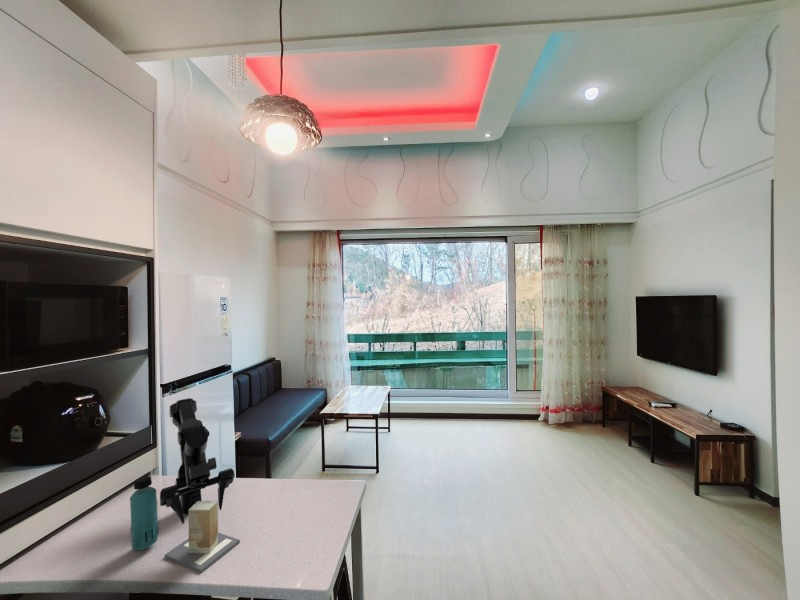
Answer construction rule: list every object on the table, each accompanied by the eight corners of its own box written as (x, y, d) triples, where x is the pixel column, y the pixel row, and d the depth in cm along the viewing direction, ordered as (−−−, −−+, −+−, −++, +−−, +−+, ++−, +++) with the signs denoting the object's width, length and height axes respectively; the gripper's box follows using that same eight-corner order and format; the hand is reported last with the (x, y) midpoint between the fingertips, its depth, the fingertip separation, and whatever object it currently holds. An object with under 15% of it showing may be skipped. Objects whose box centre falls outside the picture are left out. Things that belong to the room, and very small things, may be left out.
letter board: (164, 557, 95) (164, 554, 95) (204, 530, 106) (204, 527, 106) (201, 572, 89) (201, 569, 89) (239, 542, 100) (239, 539, 100)
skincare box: (188, 554, 95) (186, 509, 95) (197, 543, 99) (196, 500, 99) (210, 553, 95) (209, 509, 95) (219, 542, 99) (218, 500, 99)
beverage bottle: (144, 557, 96) (141, 485, 96) (124, 554, 97) (122, 483, 97) (164, 541, 102) (162, 473, 102) (146, 538, 103) (143, 472, 103)
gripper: (159, 460, 95) (163, 519, 87) (232, 441, 107) (242, 492, 98) (158, 478, 102) (162, 534, 93) (227, 458, 113) (236, 507, 104)
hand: (202, 516), depth 97 cm, fingers open, 9 cm apart
